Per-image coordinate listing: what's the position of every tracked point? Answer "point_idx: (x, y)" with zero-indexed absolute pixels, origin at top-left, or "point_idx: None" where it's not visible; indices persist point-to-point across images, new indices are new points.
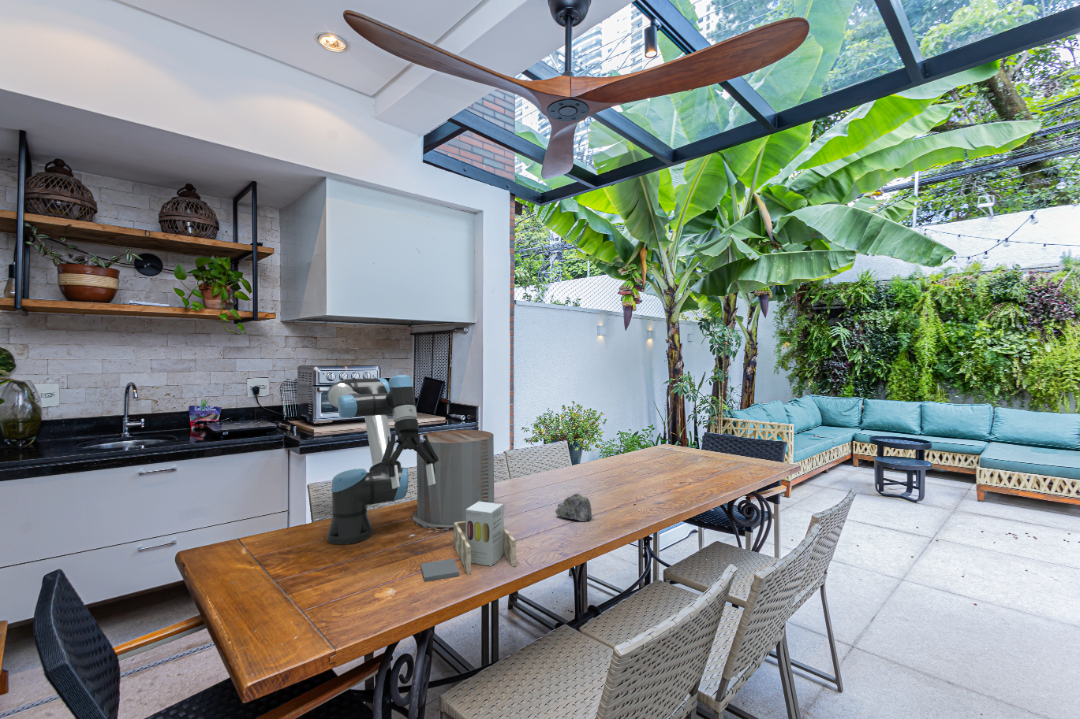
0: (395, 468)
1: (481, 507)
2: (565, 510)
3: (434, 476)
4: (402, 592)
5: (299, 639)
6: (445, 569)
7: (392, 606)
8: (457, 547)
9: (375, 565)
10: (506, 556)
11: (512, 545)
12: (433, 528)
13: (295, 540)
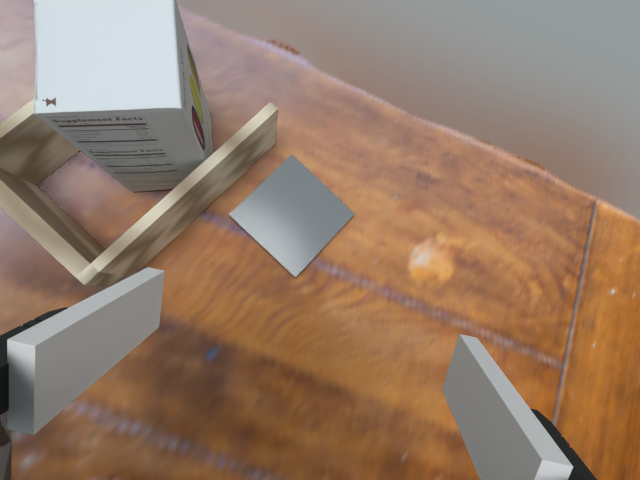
0: (547, 435)
1: (130, 54)
2: None
3: (113, 285)
4: (413, 229)
5: (613, 278)
6: (296, 193)
7: (463, 207)
8: (166, 239)
9: (339, 404)
10: None
11: None
12: (6, 460)
13: None
